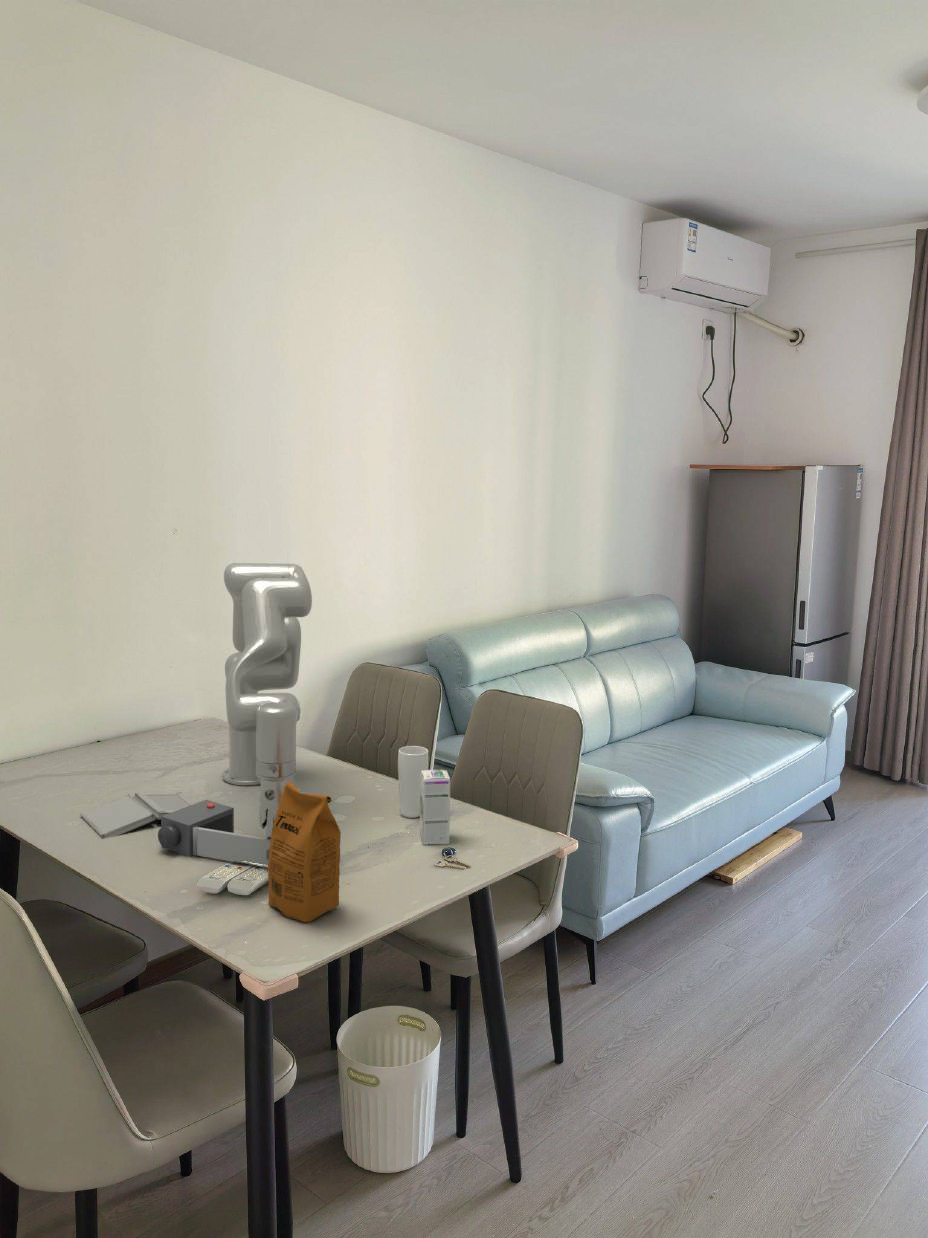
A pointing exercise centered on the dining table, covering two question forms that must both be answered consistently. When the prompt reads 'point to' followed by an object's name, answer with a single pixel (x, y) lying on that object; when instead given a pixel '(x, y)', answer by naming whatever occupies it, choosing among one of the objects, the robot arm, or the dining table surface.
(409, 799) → the drinking glass
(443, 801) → the syrup box
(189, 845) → the gray box with knob
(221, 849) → the side door
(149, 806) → the gadget
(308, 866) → the coffee package
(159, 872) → the dining table surface
